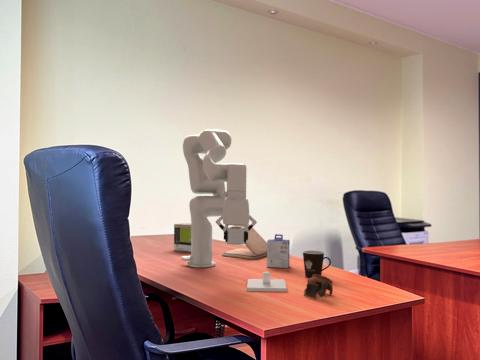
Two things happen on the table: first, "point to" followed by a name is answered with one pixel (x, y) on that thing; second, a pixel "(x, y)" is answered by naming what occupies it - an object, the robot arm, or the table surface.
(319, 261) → the coffee mug
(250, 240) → the case
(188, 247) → the tea box
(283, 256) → the ink cartridge box
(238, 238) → the collar
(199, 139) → the robot arm
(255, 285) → the flange plate
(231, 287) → the table surface
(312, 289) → the brown animal figurine
